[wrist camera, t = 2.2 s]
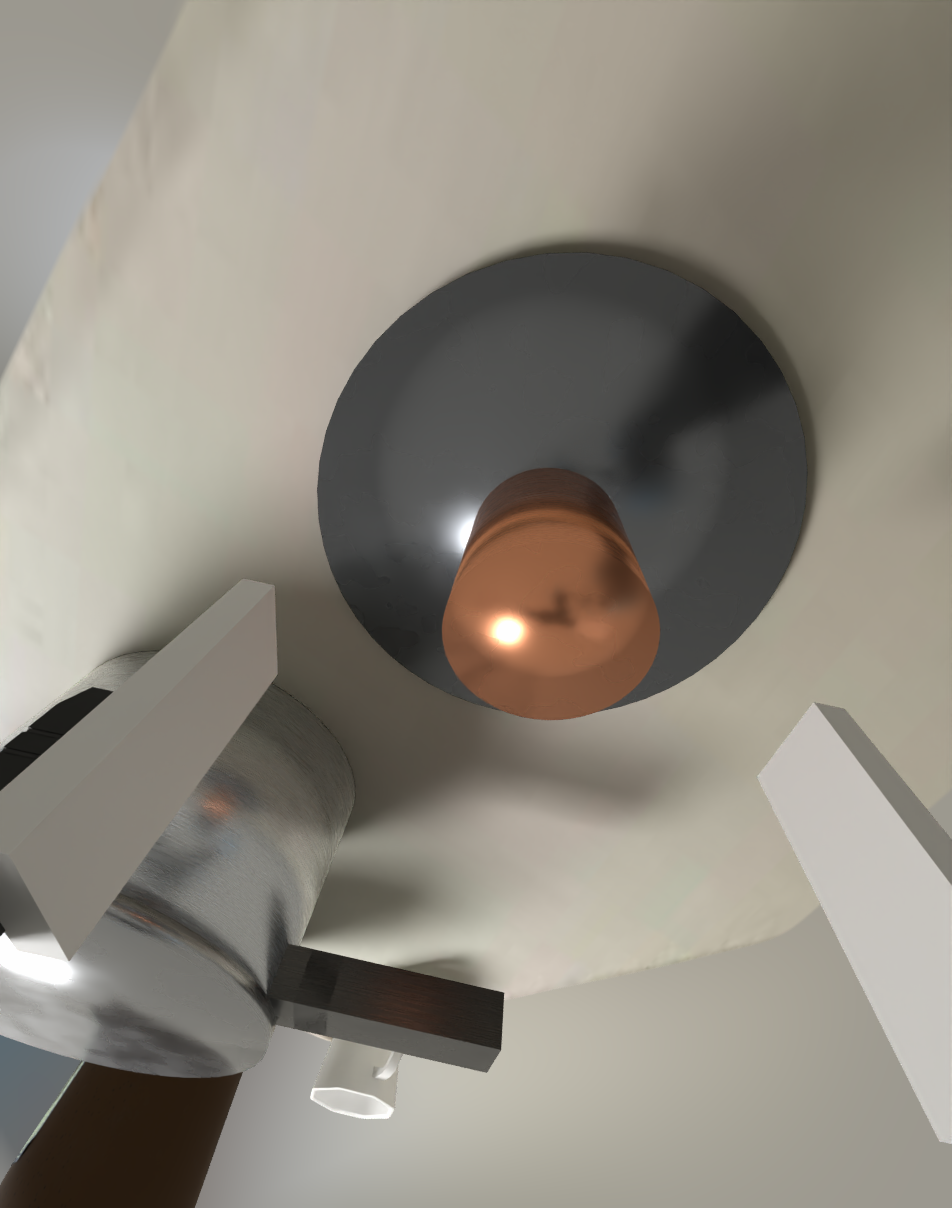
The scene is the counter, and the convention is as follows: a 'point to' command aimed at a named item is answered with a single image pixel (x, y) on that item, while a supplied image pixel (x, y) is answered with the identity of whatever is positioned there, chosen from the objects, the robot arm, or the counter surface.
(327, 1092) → the cup
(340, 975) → the cooker body
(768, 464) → the cooker lid
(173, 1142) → the olive oil
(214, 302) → the counter surface
